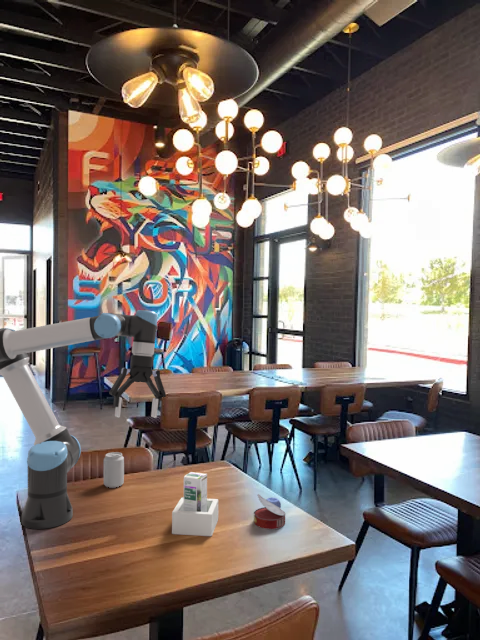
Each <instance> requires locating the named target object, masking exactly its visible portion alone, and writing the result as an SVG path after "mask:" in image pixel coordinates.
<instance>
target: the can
mask: <svg viewBox="0 0 480 640" xmlns="http://www.w3.org/2000/svg"><path fill="white" fill-rule="evenodd" d="M124 478H125V457H124V456H123V453H122V452H119V451H115V452H114V451H113V452H108V453H106V454H105V457H103V485H104V486H105V487H106V488H108V487H109V489H116V487H117V488H119V486H120V487H121V486H122V485H123V484H124V483H125V481H124V480H125V479H124Z"/></svg>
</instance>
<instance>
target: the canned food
mask: <svg viewBox="0 0 480 640" xmlns="http://www.w3.org/2000/svg"><path fill="white" fill-rule="evenodd" d="M257 498H258V500H259V502H260V503H261V505H262V506H263V507H261V508H257V509H255V511H254V512H253V514H254V515H253V516H254V517H253V518H254V519H253V521H254V525H256V526H257V527H258V528H261V529H265V530H277V529H280V528H283V527H284V526H285V525H286V512H285V511H284V510H283V509H282V508H279V507H277V506H276V505H274V504H272V503H271V502H269V501H267V498H266V499H265V498H264V497H263V496H261V494H259V493H258V494H257Z"/></svg>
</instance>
